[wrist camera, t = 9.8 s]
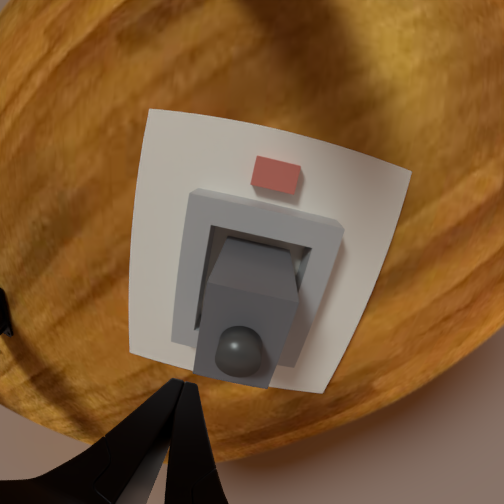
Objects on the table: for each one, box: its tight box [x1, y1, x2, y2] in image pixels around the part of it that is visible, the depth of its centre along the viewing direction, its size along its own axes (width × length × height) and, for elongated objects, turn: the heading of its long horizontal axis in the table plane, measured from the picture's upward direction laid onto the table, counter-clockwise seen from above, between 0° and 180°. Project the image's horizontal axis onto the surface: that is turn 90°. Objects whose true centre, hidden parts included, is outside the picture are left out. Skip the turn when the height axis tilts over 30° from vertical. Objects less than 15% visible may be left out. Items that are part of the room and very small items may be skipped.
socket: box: [129, 109, 412, 393], centre depth 18 cm, size 18×16×3 cm
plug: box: [193, 236, 299, 389], centre depth 14 cm, size 5×4×8 cm
